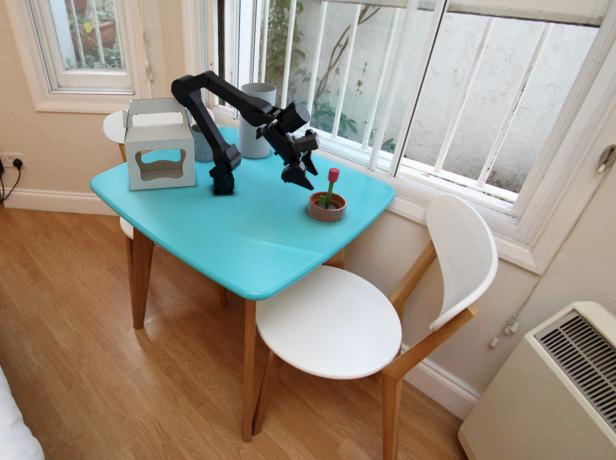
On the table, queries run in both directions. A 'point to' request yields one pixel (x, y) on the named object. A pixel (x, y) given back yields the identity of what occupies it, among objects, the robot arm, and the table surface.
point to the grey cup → (201, 146)
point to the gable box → (159, 146)
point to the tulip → (329, 190)
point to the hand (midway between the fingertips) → (315, 182)
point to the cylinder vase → (248, 133)
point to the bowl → (325, 213)
